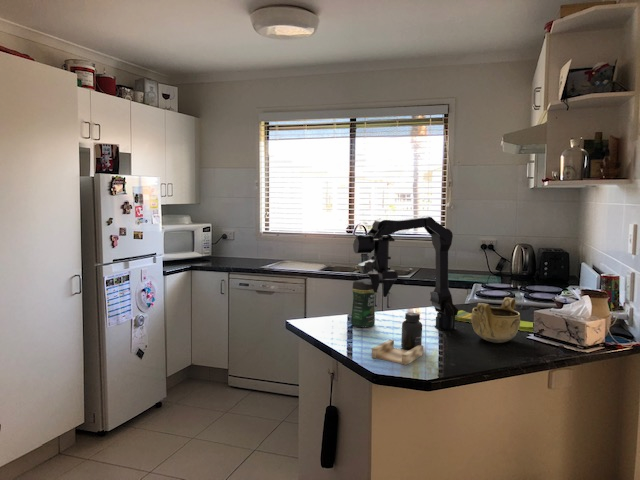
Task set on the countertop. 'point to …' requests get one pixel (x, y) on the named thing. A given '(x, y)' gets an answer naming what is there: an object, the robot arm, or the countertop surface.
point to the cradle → (396, 353)
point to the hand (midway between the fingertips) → (379, 294)
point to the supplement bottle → (411, 331)
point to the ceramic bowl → (496, 321)
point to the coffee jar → (363, 304)
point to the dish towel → (467, 318)
